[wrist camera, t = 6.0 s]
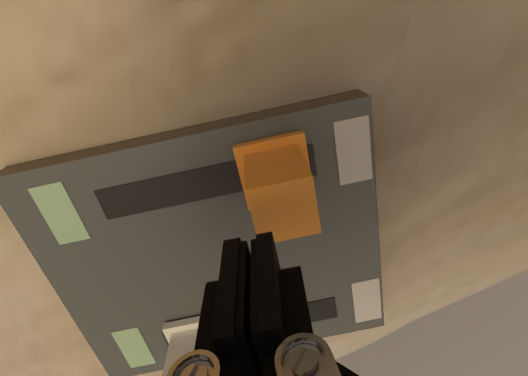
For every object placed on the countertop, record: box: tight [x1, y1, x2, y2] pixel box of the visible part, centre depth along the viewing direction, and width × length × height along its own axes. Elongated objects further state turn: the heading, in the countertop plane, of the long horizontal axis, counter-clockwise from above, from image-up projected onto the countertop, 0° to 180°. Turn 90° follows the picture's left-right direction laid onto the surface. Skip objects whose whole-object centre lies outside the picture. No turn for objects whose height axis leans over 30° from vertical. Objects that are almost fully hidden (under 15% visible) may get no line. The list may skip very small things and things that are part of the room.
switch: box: [162, 316, 200, 376], centre depth 23 cm, size 4×4×5 cm
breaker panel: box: [0, 89, 384, 376], centre depth 24 cm, size 22×18×2 cm
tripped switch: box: [233, 130, 321, 242], centre depth 18 cm, size 4×4×5 cm
